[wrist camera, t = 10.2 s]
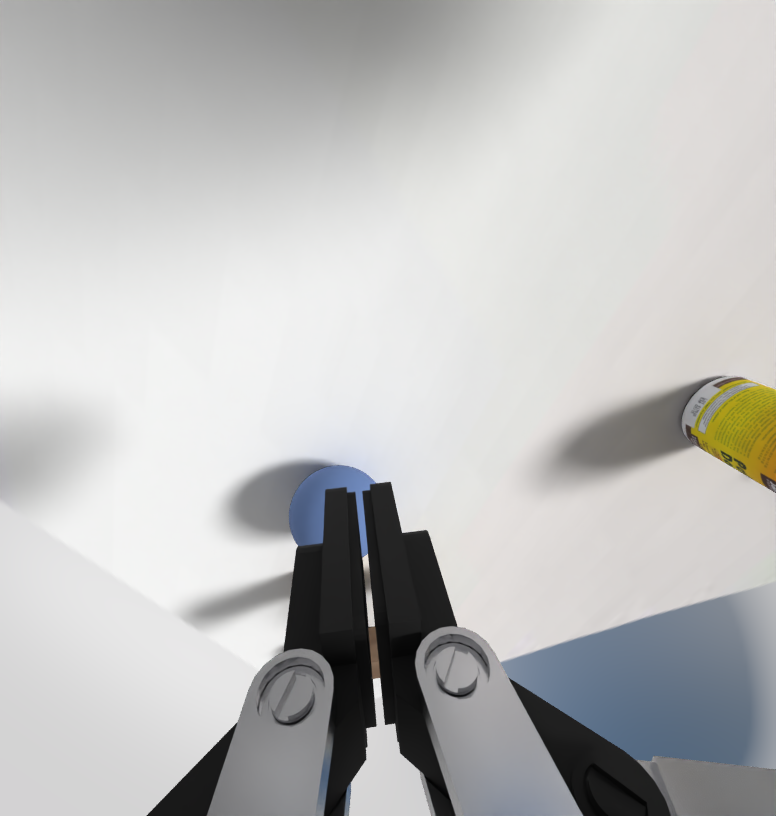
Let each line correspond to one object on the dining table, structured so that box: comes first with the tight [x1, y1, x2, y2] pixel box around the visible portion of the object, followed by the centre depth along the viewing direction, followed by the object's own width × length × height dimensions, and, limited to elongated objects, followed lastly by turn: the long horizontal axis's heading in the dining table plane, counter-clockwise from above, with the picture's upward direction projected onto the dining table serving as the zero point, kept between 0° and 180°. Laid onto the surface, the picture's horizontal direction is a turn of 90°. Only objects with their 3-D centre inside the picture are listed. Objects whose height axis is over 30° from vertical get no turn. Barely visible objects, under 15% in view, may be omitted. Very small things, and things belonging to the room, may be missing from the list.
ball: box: [289, 465, 376, 557], centre depth 25 cm, size 6×6×6 cm
